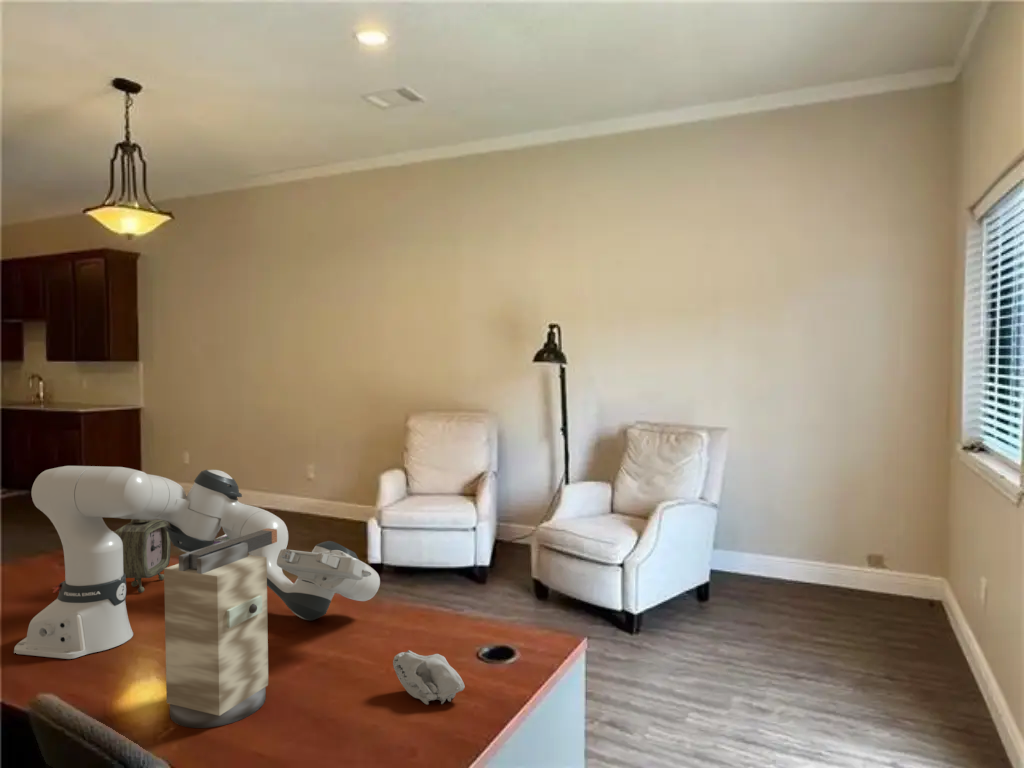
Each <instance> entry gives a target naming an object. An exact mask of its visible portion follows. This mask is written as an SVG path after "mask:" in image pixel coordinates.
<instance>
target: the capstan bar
mask: <svg viewBox="0 0 1024 768" xmlns="http://www.w3.org/2000/svg"><path fill="white" fill-rule="evenodd" d="M243 542H244V543H248V552H251V551H253V550H256V549H259V548H262V547H264V546H267V545H270V544H273V543H275V542H277V529H269V528H266V529H263V530H260V531H257V532H254V533H251V534H248V535H245V536H242V537H239V538H236V539H233V540H230V541H227V542H224V543H221V544H218V545H215V546H211V547H208V548H205V549H202V550H199V551H196V552H193V553H190V554H189V568H192V569H197V558H199V557H202V556H205V555H208V554H211V553H214V552H217V551H220V550H223V549H225V548H228V547H231V546H234V545H237V544H240V543H243Z"/></svg>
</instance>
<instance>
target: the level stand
mask: <svg viewBox="0 0 1024 768" xmlns="http://www.w3.org/2000/svg"><path fill="white" fill-rule="evenodd" d="M227 541H228V540H226V541H222V542H219V543H216V544H212V545H210V546H207V547H204V548H201V549H198V550H195V551H192V552H189V553H187V552H185V553H183V554H181V555H178V563H176V564H174V565H170V566H167V567H166V568H164V570H163V575H164V579H163V581H164V583H163V584H164V585H163V587H164V592H163V593H164V629H165V630H164V633H165V634H164V635H165V637H164V638H165V641H164V642H165V679H166V680H165V681H166V683H165V685H166V687H165V688H166V690H165V691H166V704H169V716H170V717H169V718H170V720H172V722H173V723H175V724H176V725H179V726H181V727H185V728H191V729H207V728H215V727H216V728H217V727H221V726H225V725H230V724H233V723H235V722H239V721H242V720H243V719H246V718H248V717H250V716H251V715H253V714H255V713H256V712H257V711H259V710H260V709H261V708H262V706H263V705H264V704H265V702H266V700H267V699H266V698H267V697H266V694H267V693H266V690H267V687H268V686H269V643H268V642H269V641H268V639H269V635H268V629H269V628H268V626H269V625H268V586H267V557H260V556H253V555H249V553H248V543H244V542H243V543H240V544H237V545H234V546H231V547H228V548H225V549H223V550H220V551H217V552H214V553H211V554H208V555H205V556H202V557H199V558H197V569H192V568H189V554H190V553H193V552H196V551H199V550H202V549H205V548H208V547H211V546H215V545H218V544H221V543H224V542H227Z"/></svg>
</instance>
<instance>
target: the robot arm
mask: <svg viewBox="0 0 1024 768" xmlns="http://www.w3.org/2000/svg"><path fill="white" fill-rule="evenodd" d="M193 482H194V483H193V484H192V485H191V488H190V490H189V491H188V492H187V493H186V491H185V489H184V487H183V486H182V485H181V484H180V483H178V482H176V481H175V480H172V479H170V478H167V477H165V476H164V477H163V476H161V475H156V474H149V473H146V472H145V471H143V470H142V471H141V470H138V469H134V468H130V467H123V466H102V465H101V466H100V465H99V466H98V465H97V466H95V465H92V466H91V465H64V466H58V467H54V468H49V469H45V470H44V471H42V472H41V473H40V474H38V475H37V476H36V478H35V480H34V482H33V484H32V487H31V492H30V493H31V498H32V499H31V500H32V502H33V504H34V507H36V508H37V509H38V510H39V511H41V512H42V513H43V514H44V515H45V516H46V517H47V518H48V519H49V520H50V522H51V523H52V525H53V526H54V528H55V530H56V532H57V534H58V536H59V539H60V541H61V545H62V549H63V556H64V557H63V559H64V571H65V574H64V576H65V577H64V579H65V580H63V581H62V582H61V583H59V584H58V585H56V586H54V587H52V589H54V590H53V592H52V593H57V592H58V596H57V598H56V599H54V601H52V602H50V604H49V605H47V606H46V607H45V608H43V609H42V610H41V611H39V612H38V613H37V614H36V615H35V616H34V617H33V618H32V619H31V620H30V622H29V624H28V628H27V633H26V637H25V638H23V639H22V640H20V641H19V642H18V643H16V645H15V646H14V649H13V654H15V653H16V654H17V655H25V656H36V657H45V658H54V659H66V660H71V659H72V660H73V659H77V658H79V657H83V656H85V655H89V654H94V653H97V652H98V653H99V652H102V651H103V652H104V651H107V650H109V649H110V650H111V649H113V648H116V647H118V646H120V645H123V644H125V643H127V642H128V641H130V640H131V639H132V638H133V637H134V632H133V630H132V627H131V623H130V620H129V616H128V610H127V605H126V604H127V602H126V598H127V578H126V574H125V573H124V572H123V543H122V540H121V538H120V537H119V536H118V535H117V534H116V533H114V532H115V531H113V530H112V529H110V528H109V527H108V525H107V524H106V523H105V521H104V519H103V518H111V519H112V518H114V519H123V520H132V519H138V520H165V521H168V522H169V525H167V526H165V530H166V531H167V532H168V533H169V538H170V540H171V544H172V545H173V546H174V547H176V548H178V549H179V550H180V551H181V552H184V553H189V552H192V551H195V550H198V549H201V548H204V547H207V546H210V545H213V543H214V539H216V537H217V536H218V534H219V532H220V530H221V528H222V531H223V533H224V535H225V534H226V535H227V536H228V537H229V538H230V539H231V540H233V539H236V538H239V537H242V536H245V535H248V534H251V533H254V532H257V531H260V530H263V529H266V528H269V529H277V542H275V543H273V544H270V545H267V546H264V547H262V548H259V549H256V550H253V551H251V552H248V555H253V556H260V557H267V588H269V589H270V590H271V591H272V592H274V594H276V595H277V597H279V598H280V599H281V601H283V603H284V604H285V605H286V606H287V608H288V609H289V610H290V611H291V612H292V613H293V614H294V615H296V616H297V617H299V618H300V619H303V620H305V621H309V622H310V621H315V620H317V619H319V618H321V617H324V616H325V615H327V613H328V609H329V607H330V605H331V603H332V600H333V597H334V596H335V594H339V595H340V596H342V597H344V598H347V599H349V600H353V601H359V602H366V601H369V600H371V599H372V598H374V597H375V595H376V594H377V592H378V591H379V589H380V586H381V585H380V584H381V577H380V575H379V573H378V572H377V571H376V570H375V569H374V568H373V567H371V566H370V565H369V564H367V563H365V562H364V561H362V560H360V559H359V557H358V556H357V553H356V552H355V551H353V550H351V549H349V548H347V547H345V546H343V545H341V544H340V543H337V542H335V541H332V540H327V541H323V542H320V543H317V544H315V546H314V548H313V549H312V550H311V551H303V550H294V549H287V546H288V543H289V531H288V527H287V525H286V523H285V521H284V520H282V519H281V518H280V517H279V516H277V514H276V515H275V514H274V513H272V512H270V511H268V510H265V509H264V508H260V507H258V506H254V505H249V504H246V503H243V502H240V501H238V498H242V497H243V494H242V493H241V492H240V490H239V485H238V483H237V482H236V480H235V478H233V477H232V476H230V474H228V473H227V472H226V471H222V470H220V469H205V470H201V471H200V472H199V474H197V476H196V477H195V479H194V480H193ZM283 570H284V571H286V572H288V573H290V574H291V575H295V576H297V579H296V580H295V581H294V582H292V580H290V579H289V578H288V577H287V576H286V575H285V573H284V572H283Z"/></svg>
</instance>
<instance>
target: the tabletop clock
mask: <svg viewBox="0 0 1024 768" xmlns="http://www.w3.org/2000/svg"><path fill="white" fill-rule="evenodd" d="M167 525H169V526H170V523H169V522H168V521H165V520H138V519H130V522H128V523H126V524H124V525H123V526H121V527H119V528H118V529H116V530H114V531H113V532H114V533H116V534H117V535H118V536H119V537H120V538H121V540H122V543H123V572H124V573H125V574H126V579H133V580H132V582H131V583H130V584H131V587H132V588H133V587H134V588H135V587H137V586H138V588H137V592H138V593H139V594H143V593H144V591H145V588H144V586H143V585H142V579H151V578H153V577H155V576H158V580H159V581H164V573H162V572H164V568H167V567H169V564H170V561H171V551H172V550H171V545H172V542H171V540H170V538H169V533H168V532H167V531H166V530H165V526H167Z"/></svg>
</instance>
